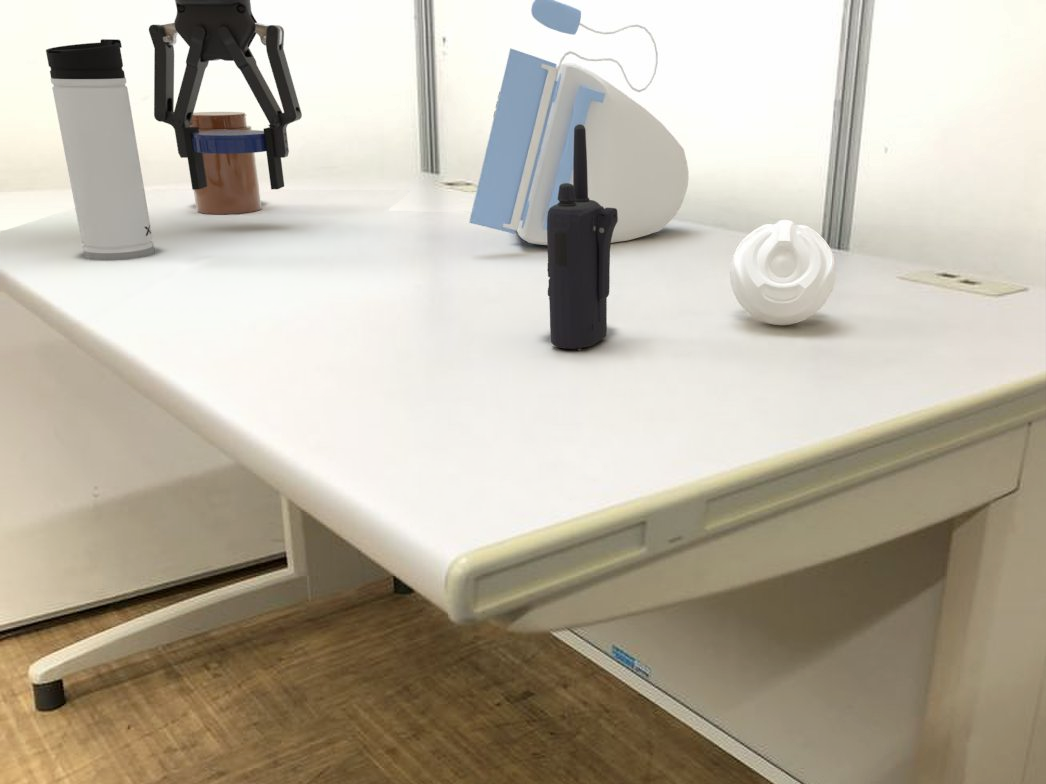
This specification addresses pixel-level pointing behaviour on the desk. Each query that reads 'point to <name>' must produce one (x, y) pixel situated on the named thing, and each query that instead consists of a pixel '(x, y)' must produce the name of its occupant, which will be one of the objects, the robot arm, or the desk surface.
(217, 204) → the jar
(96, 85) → the travel mug
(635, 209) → the vintage crt computer
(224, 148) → the jar lid
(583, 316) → the two-way radio
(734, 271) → the motion sensor
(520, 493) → the desk surface
